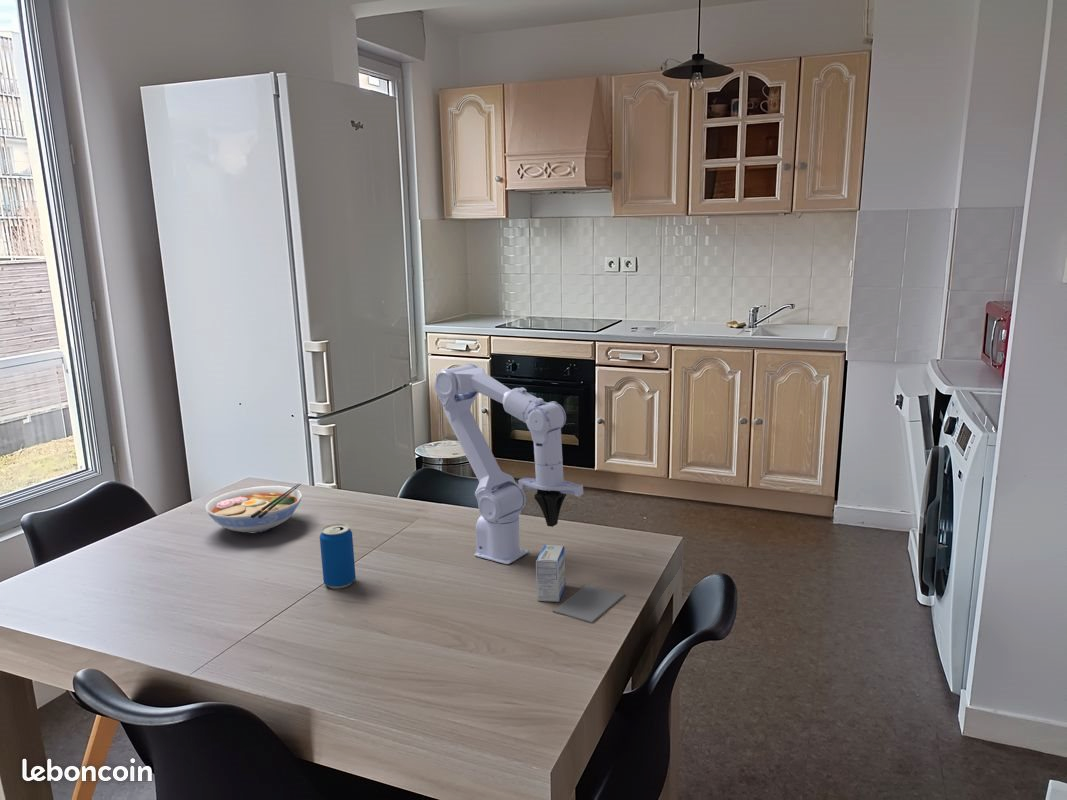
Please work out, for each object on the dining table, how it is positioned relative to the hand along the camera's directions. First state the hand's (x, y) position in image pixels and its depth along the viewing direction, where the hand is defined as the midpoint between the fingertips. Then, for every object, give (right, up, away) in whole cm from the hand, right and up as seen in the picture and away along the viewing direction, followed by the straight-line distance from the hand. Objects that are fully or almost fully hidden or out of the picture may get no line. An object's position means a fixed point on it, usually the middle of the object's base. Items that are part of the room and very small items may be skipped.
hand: (552, 524), depth 160 cm
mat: (+7, -13, -12) cm, 19 cm away
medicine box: (0, -13, -8) cm, 15 cm away
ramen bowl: (-73, -6, +31) cm, 79 cm away
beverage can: (-44, -12, -1) cm, 46 cm away
